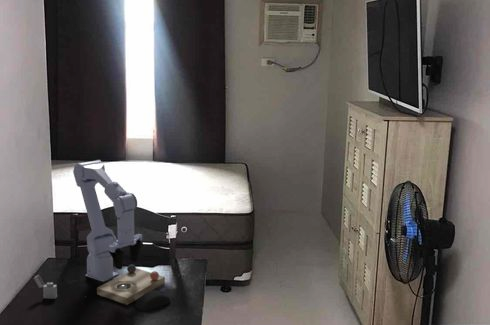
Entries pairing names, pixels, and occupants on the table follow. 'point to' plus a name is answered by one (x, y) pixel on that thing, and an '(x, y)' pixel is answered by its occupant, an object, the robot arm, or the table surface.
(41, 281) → the lighter
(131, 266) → the black ball
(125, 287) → the steel ball
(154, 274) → the red ball
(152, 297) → the computer mouse
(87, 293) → the table surface
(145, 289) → the maple board
